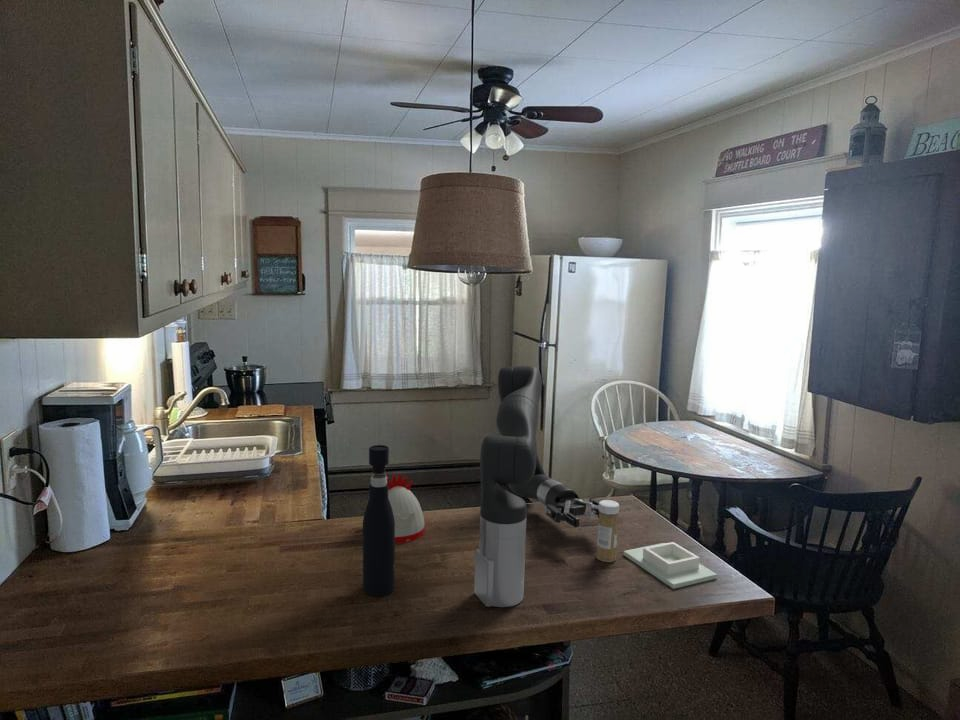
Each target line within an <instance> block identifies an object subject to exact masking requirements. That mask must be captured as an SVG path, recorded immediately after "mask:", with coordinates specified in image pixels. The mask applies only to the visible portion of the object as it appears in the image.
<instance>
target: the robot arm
mask: <svg viewBox="0 0 960 720" xmlns="http://www.w3.org/2000/svg"><path fill="white" fill-rule="evenodd" d="M497 375H498V376H497V389H498V396H499V399H500V401H499V402H500V404H499V406H498V409H497V415H496V421H495V422H496V429H498V430H497V431H498V432H499V433H500V435H486V436H485V437H484V438H483V440H482V442H481V445H480V455H479V459H480V461H479V462H480V463H479V466H480V509H479V511H480V514H479V515H480V516H479V544H478V545H479V548H476V549H475V551H474V552H475V555H474V587H473V588H474V590H473V591H474V594H475V596H476V597H477V598H478V599H479V600H480V602H482V604H483V605H484V606H485V607H488V608H490V607H496V608H509V607H514V606H516V605H518V604H520V603H521V602H522V601H523V599H524V589H525V566H526V565H525V564H526V562H525V561H526V542H527V538H526V537H527V516H528V515H527V514H528V513H527V511H528V509H527V508H528V504H527V503H526V501H525V500H524V499H523V498H528V499H534V500H535V501H536V502H538V503H540V504H541V505H542V506H543V507H544V508H545V509H546V514H545V515H546V516H548V517H549V518H550V519H551V520H553V521H554V522H555V523H557V524H558V523H559V524H560V523H561V522H562V521H563V523H565V524H566V523H567V524H569V525H571V526H572V527H574V528H579V526H580V519H579V516H583V517H586V518H587V517H588V518H591V517H596V518H598V519H599V502H600V501H601V500H598V499H596V498H594V497H589V500H588V501H587V500H584V499H581V498H580V497H579V495H578V494H577V492H576V491H575V490H573V489H572V488H570V487H568V486H567V485H565V484H563V483H561V482H560V481H558V480H556V479H553V478H552V477H550V476H548V475H547V474H546V473H545V470H544V468H543V466H542V465H541V462H540V459H539V455H538V449H537V439H536V437H537V436H536V435H537V429H538V423H539V422H538V421H539V403H540V398H541V396H542V395H541V394H542V388H543V387H542V386H543V380H542V375H541V371H540V370H539V369H538V368H537V367H536V366H533V365H514V366H511V365H510V366H503V367H501V368H500V369H499V372H498V374H497ZM500 484H501V485H502V484H503V485H504V484H505V485H508V487H509V488H510V490H511V491H512V493H511V492H510V491H508V490H506V489H504V488H503V487H502V486H500ZM513 493H514V494H513ZM587 508H588V512H587ZM577 516H578V517H577Z"/></svg>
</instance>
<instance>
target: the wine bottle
mask: <svg viewBox="0 0 960 720" xmlns="http://www.w3.org/2000/svg"><path fill="white" fill-rule="evenodd" d="M389 448H390V447H389V446H387V445H382V444H377V445H375V444H374V445H372V446H369V448H368V464H369V465H370V466H371V467H372V471H371V473H372V475H371V476H370V484H369V487H368V488H369V495H368V501H367V504H366V506H365V511H364V514H363V520H362V590H363V591H362V592H363V593H364V594H365V595H367V596H371V597H385V596H388V595H390V594H391V593H393V592H394V591H395V566H396V565H395V564H396V563H395V561H396V560H395V559H396V557H395V555H396V553H395V551H396V550H395V548H396V547H395V546H396V543H395V521H394V515H393V510H392V507H391V504H390V501H389V498H388V484H387V477H388V476H387V477H386V475H387V474H386V473H387V472H386V466H388V465H389V463H390V462H389V458H390V455H389V453H390V451H389Z"/></svg>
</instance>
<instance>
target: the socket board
mask: <svg viewBox="0 0 960 720" xmlns="http://www.w3.org/2000/svg"><path fill="white" fill-rule="evenodd" d="M623 556H625V557H626V558H627V559H629V560H630V561H632V562H633V563H635V564H636V565H638V566H639V567H641V568H642V569H643V570H645V571H646V572H647V573H650V574H651V576H654V578H655V577H656V578H657V579H658V580H659V581H662V583H664V584H665V585H667V586H668V587H670V588H671V589H672V590H674V589H679V588H684V587H687V586H690V585H691V586H692V585H696V584H699V583H704V582H709V581H712V580H716V579H718V573H716V572H714V571H712V570H711V569H709V568H707V567H706V566H704V565H703V564H701V563H700V559H701V558H700V556H698V555H696V554H695V553H692V552H691V551H690V550H687V549H686V548H684V547H682V546H681V545H680V544H677V543H676V542H674V541H671V542H667V543H666V542H660V543H656V544H651V545H646V546H641V547H637V548H632V549H628V550H623Z"/></svg>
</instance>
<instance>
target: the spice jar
mask: <svg viewBox="0 0 960 720" xmlns="http://www.w3.org/2000/svg"><path fill="white" fill-rule="evenodd" d="M599 501H600V502H599V518H598V523H597V524H598V525H597V538H596V539H597V543H596V544H597V549H596V556H595V557H596V559H597V560H598V561H600V562H603V563H613V562H615V561H616V560H617V556H616V554H617V542H618V519H619V512H620V504H619V502H617V501H615V500H611V499H604V500H599Z"/></svg>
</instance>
